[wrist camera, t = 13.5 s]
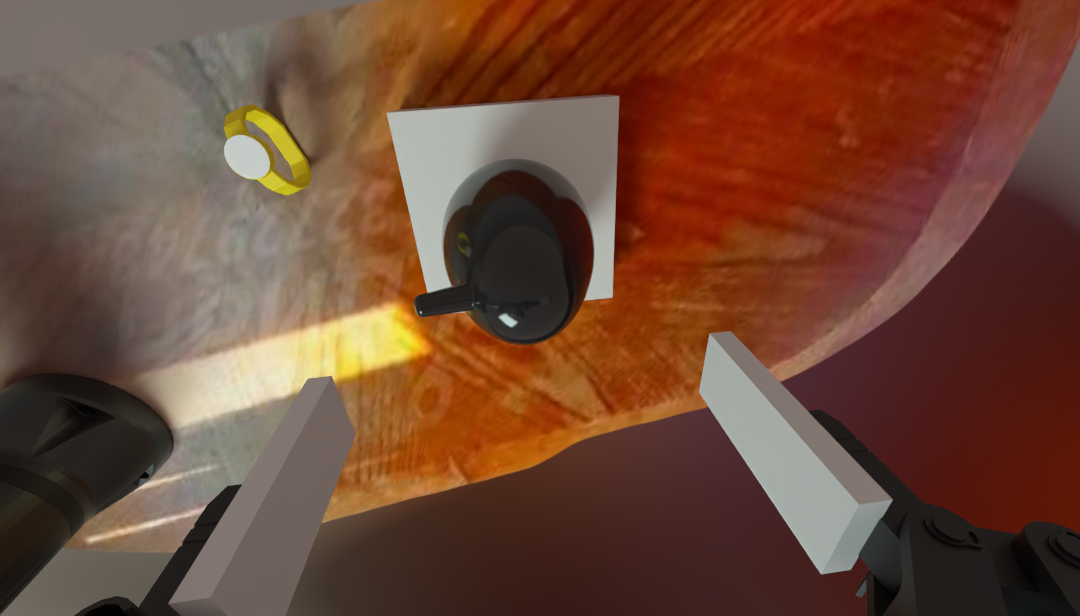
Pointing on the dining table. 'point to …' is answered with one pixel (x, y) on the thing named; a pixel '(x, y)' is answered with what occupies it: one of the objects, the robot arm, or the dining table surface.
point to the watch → (263, 151)
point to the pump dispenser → (515, 252)
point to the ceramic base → (509, 133)
